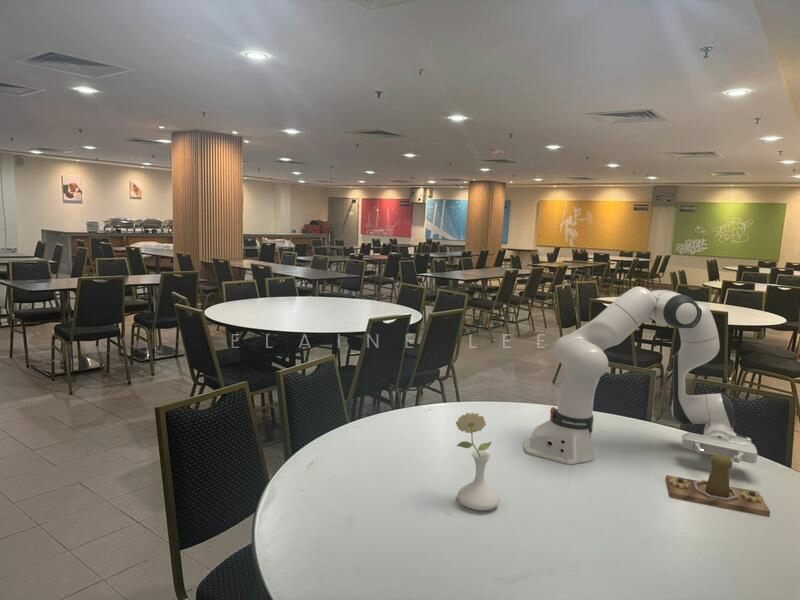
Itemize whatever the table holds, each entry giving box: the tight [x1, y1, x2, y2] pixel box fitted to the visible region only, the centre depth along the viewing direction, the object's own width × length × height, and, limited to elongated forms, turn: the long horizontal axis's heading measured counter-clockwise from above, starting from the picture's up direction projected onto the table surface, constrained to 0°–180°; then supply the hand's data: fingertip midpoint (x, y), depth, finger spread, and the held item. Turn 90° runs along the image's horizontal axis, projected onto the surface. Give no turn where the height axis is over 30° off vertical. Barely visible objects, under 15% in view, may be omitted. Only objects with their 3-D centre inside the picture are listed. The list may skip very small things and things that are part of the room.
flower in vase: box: [455, 412, 501, 511], centre depth 143 cm, size 13×11×25 cm
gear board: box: [665, 474, 771, 518], centre depth 153 cm, size 24×12×4 cm, turn 69°
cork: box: [705, 454, 733, 498], centre depth 152 cm, size 6×6×11 cm
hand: (718, 456), depth 163 cm, fingers open, 8 cm apart
